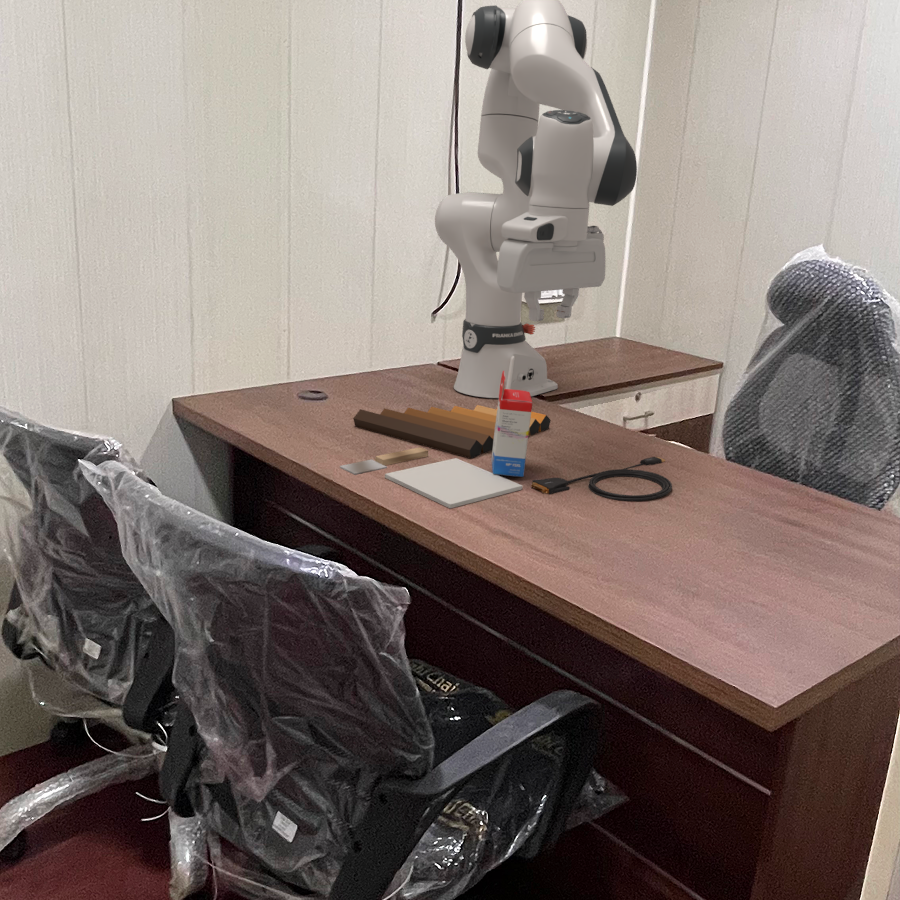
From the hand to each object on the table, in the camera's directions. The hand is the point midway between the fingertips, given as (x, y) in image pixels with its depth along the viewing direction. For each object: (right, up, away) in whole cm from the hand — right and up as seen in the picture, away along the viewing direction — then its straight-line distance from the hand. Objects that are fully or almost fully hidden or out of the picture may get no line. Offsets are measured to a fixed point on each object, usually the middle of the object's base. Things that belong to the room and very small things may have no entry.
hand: (549, 319), depth 146 cm
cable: (+12, -26, -1) cm, 28 cm away
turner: (-25, -22, +4) cm, 34 cm away
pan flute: (-15, -17, +24) cm, 33 cm away
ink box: (-6, -23, +2) cm, 24 cm away
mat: (-15, -25, -4) cm, 29 cm away
